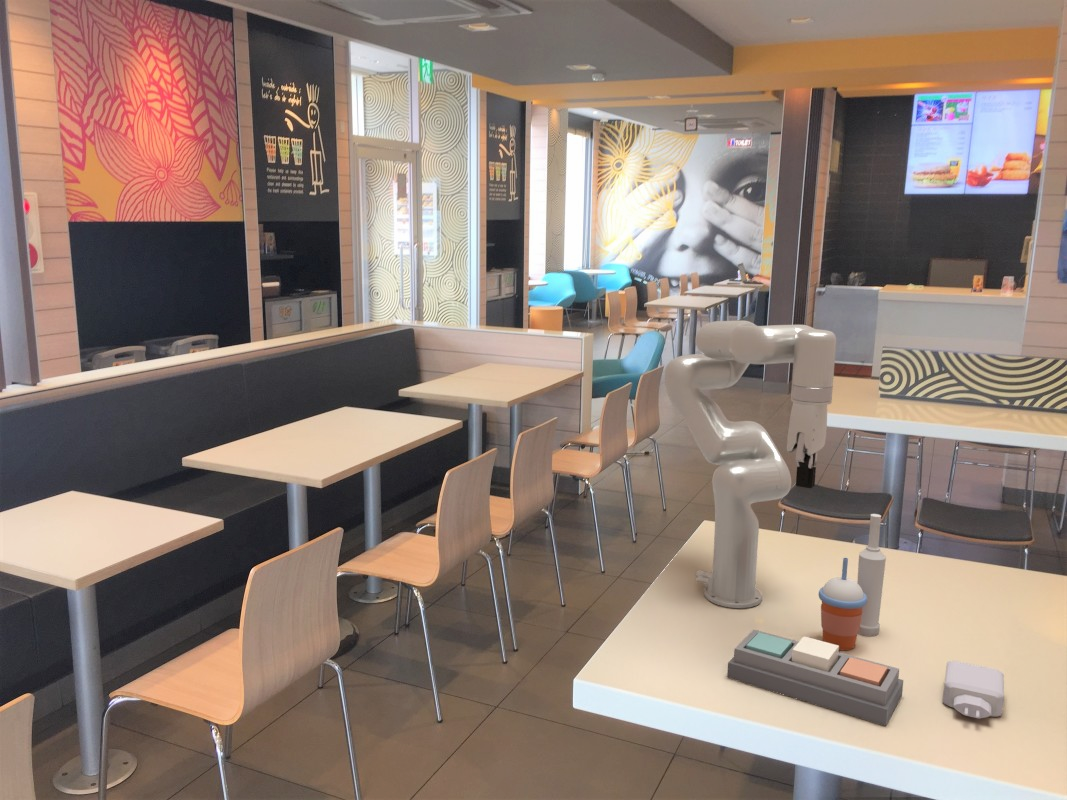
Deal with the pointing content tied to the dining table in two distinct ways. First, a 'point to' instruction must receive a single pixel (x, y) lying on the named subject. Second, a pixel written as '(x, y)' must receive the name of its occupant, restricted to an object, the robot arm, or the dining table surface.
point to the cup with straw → (841, 610)
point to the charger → (974, 689)
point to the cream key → (815, 654)
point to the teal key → (769, 645)
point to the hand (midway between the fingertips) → (805, 486)
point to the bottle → (871, 579)
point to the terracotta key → (864, 671)
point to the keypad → (817, 682)
